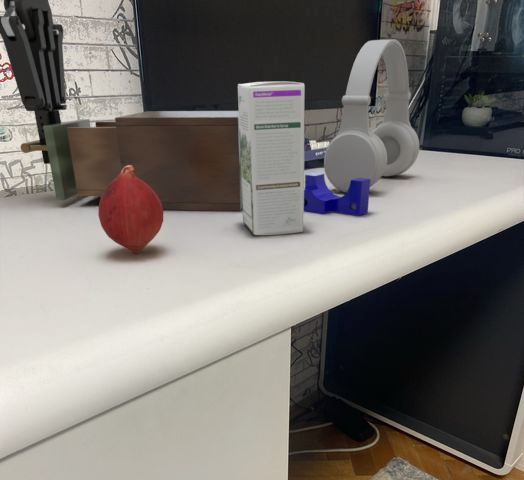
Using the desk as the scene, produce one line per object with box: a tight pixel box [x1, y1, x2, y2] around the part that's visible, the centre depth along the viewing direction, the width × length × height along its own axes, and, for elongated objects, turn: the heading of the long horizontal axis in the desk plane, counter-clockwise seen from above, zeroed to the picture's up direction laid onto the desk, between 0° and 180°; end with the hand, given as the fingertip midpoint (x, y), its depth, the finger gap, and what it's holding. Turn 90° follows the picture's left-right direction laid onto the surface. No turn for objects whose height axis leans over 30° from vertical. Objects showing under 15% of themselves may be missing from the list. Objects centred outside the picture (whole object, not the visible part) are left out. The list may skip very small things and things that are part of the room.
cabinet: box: [114, 110, 243, 212], centre depth 71 cm, size 15×13×11 cm
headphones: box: [323, 39, 420, 194], centre depth 78 cm, size 20×8×19 cm, turn 149°
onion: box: [98, 165, 164, 254], centre depth 49 cm, size 6×6×8 cm
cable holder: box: [304, 172, 371, 217], centre depth 65 cm, size 8×4×4 cm, turn 51°
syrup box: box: [237, 81, 306, 236], centre depth 56 cm, size 6×6×14 cm
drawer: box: [19, 118, 122, 201], centre depth 72 cm, size 18×12×9 cm, turn 84°
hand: (55, 162), depth 73 cm, fingers closed
